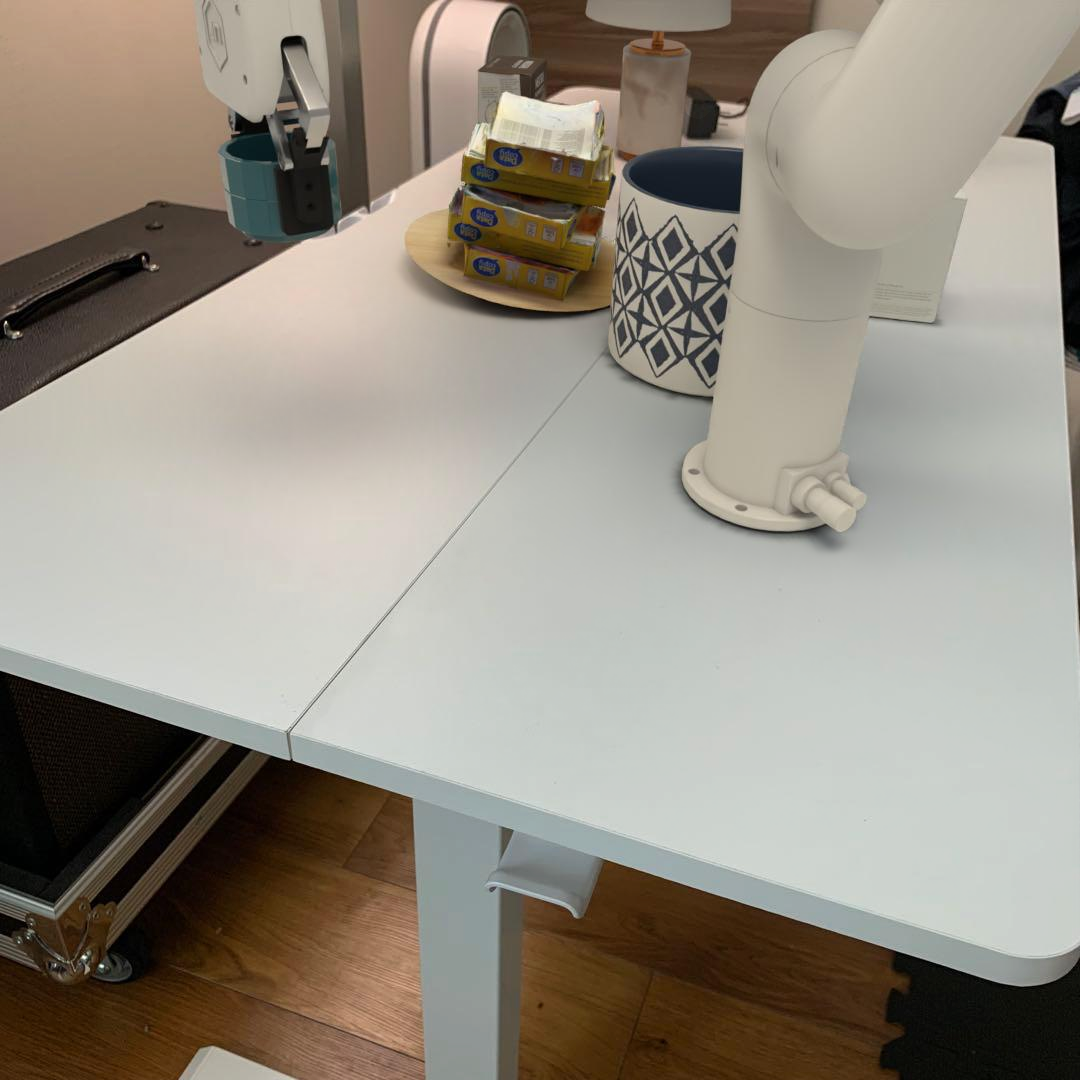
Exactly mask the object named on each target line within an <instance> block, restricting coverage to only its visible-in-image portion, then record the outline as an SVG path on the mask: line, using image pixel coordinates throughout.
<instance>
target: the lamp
mask: <svg viewBox="0 0 1080 1080" xmlns="http://www.w3.org/2000/svg"><path fill="white" fill-rule="evenodd" d="M585 7H586V8H585V16H586V17H587V18H589V19H590V20H593V21H594V22H597V23H600V24H604V25H608V26H611V27H617V28H623V29H630V30H637V31H638V30H639V31H650V32H653V34H652V38H639V39H634V40H632V41H630V42H629V44H627V45H625V46H624V47H623V50H622V63H621V74H620V75H621V76H620V77H621V78H620V86H619V87H620V88H619V101H618V116H617V129H616V143H615V145H616V148H617V149H618V150H620V157H621V158H622V159H623V160H625V161H627V162H628V161H630V160H631V159H633V158H635V157H636V156H639V155H642V154H644V153H648V152H652V151H655V150H661V149H667V148H676V147H682V142H683V133H684V132H683V130H684V122H685V121H684V120H685V113H686V104H687V95H688V87H689V86H688V85H689V76H690V75H689V74H690V67H691V59H692V58H691V57H692V51H691V50H690V49H689V48H687V47H686V44H684V43H682V42H681V41H680V42H679V41H676V40H674V39H673V40H672V39H666V38H664V37H665V36H664V35H665V32H667V33H686V32H689V33H690V32H702V31H703V32H704V31H712V30H716V29H721V28H724V27H727V26H728V25H730V24H731V22H732V0H587V1H586V6H585Z"/></svg>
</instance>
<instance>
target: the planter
mask: <svg viewBox="0 0 1080 1080" xmlns="http://www.w3.org/2000/svg"><path fill="white" fill-rule="evenodd" d="M742 168H743V147H731V146H730V147H729V146H717V145H716V146H715V145H713V146H712V145H694V146H693V145H691V146H681V147H676V148H667V149H661V150H655V151H652V152H648V153H644V154H642V155H639V156H636V157H635V158H633V159H631V160H630V161H628V160H627V162H626V163H625V164H624V165H623V167H622V170H621V174H620V183H619V194H618V207H617V217H616V218H617V219H616V230H615V242H614V243H615V244H614V245H615V254H614V266H613V279H612V292H611V304H610V305H609V306H610V307H609V317H608V333H607V348H608V350H609V352H610V354H611V356H612V357H613V359H614V360H615V362H616V363H617V364H618V365H620V366H621V368H623V369H624V370H625V371H627V372H628V373H630V374H632V375H633V376H634V377H636V378H639V379H640V380H642V381H644V382H646V383H649V384H651V385H654V386H656V387H659V388H661V389H666V390H668V391H672V392H676V393H679V394H680V393H681V394H686V395H692V396H699V397H711V398H714V391H715V384H716V377H717V371H718V364H719V357H720V350H721V343H722V337H723V330H724V323H725V316H726V309H727V303H728V296H729V289H730V284H731V278H732V271H733V264H734V257H735V250H736V242H737V234H738V225H739V215H740V203H741V187H742Z"/></svg>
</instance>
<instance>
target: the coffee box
mask: <svg viewBox="0 0 1080 1080" xmlns="http://www.w3.org/2000/svg"><path fill="white" fill-rule="evenodd" d="M547 71H548V59H547V58H540V57H532V56H520V55H519V56H518V55H501V54H499V55H496V56H495V57H493V58H492V59H491V60H489V61H488V62H486V63H485V64H483V66H481V67H480V68H478V69H477V123H478V122H480V123H482V122H483V123H486V122H487V124H489V123H490V120H491V116H489V111H492V113H494V112H495V110H496V103H497V102H498V101H499V99H500V97H501V94H502V93H504V92H506V91H507V92H509V93H511V94H514V95H519V96H523V97H528V98H532V99H538V100H544V101H547V100H546V99H547V98H546V97H547V96H546V95H547V75H548V74H547V73H548V72H547ZM492 106H494V108H493V110H491V108H492ZM492 113H491V114H492ZM487 117H488V118H487Z"/></svg>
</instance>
